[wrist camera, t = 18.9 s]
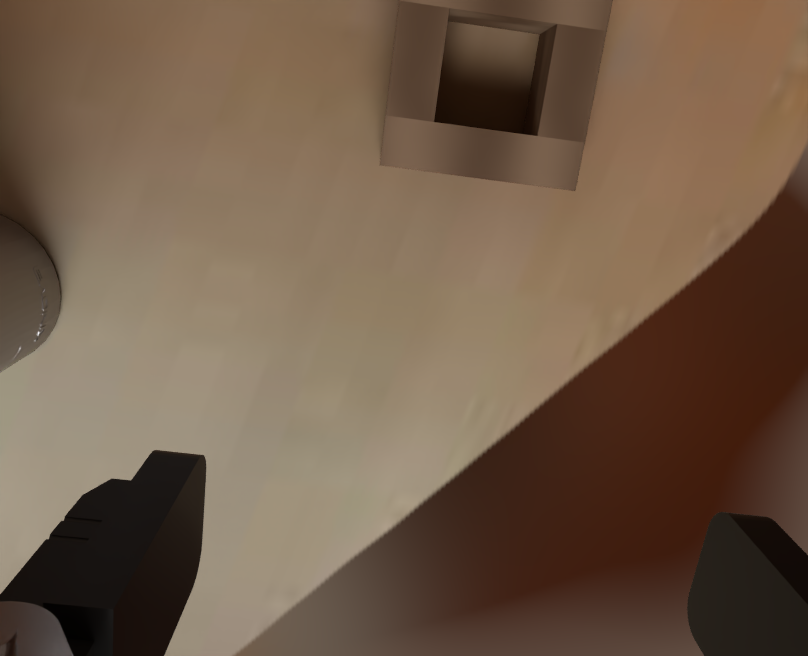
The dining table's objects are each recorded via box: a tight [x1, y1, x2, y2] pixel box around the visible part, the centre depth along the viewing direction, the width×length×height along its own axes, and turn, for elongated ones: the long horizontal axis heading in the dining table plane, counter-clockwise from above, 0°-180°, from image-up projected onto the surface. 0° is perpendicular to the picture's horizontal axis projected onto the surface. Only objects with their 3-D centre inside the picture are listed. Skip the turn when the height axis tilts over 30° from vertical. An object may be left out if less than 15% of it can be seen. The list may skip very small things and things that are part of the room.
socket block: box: [380, 0, 613, 191], centre depth 36 cm, size 10×10×4 cm
